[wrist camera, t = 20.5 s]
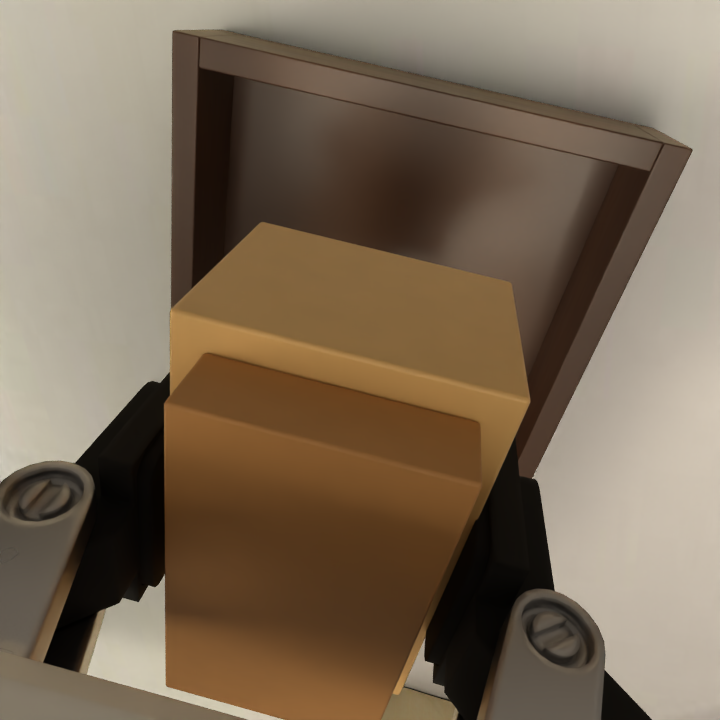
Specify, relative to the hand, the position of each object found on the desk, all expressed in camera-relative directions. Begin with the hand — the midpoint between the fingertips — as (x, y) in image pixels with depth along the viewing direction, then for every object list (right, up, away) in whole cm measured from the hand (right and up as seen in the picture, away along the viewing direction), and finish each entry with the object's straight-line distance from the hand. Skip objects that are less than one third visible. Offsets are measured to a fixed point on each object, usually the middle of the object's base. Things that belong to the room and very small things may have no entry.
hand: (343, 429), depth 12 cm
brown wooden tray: (+1, +2, +12) cm, 12 cm away
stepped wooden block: (0, 0, +1) cm, 1 cm away
